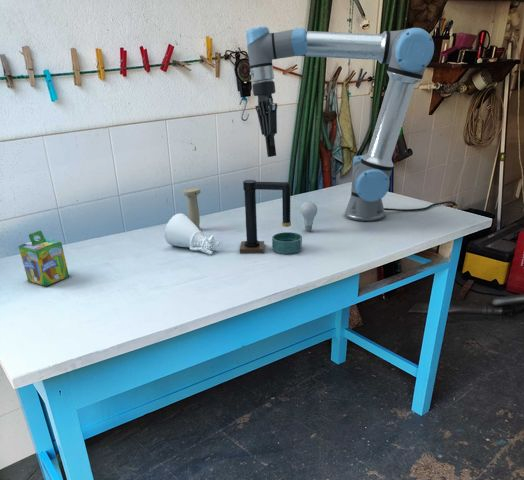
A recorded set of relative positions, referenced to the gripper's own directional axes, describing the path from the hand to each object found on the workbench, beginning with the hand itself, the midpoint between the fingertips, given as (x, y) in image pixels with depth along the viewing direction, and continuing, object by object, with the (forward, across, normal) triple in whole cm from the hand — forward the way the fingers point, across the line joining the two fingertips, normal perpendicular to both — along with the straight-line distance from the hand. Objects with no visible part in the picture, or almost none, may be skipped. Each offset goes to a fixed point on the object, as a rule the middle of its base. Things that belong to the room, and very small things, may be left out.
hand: (271, 156), depth 184 cm
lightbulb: (+28, +6, +9) cm, 30 cm away
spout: (+19, +17, -12) cm, 28 cm away
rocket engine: (+25, +3, -36) cm, 44 cm away
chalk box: (+23, +6, -83) cm, 87 cm away
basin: (+29, +19, -7) cm, 35 cm away
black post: (+27, +12, -17) cm, 35 cm away
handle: (+23, -17, -28) cm, 40 cm away
